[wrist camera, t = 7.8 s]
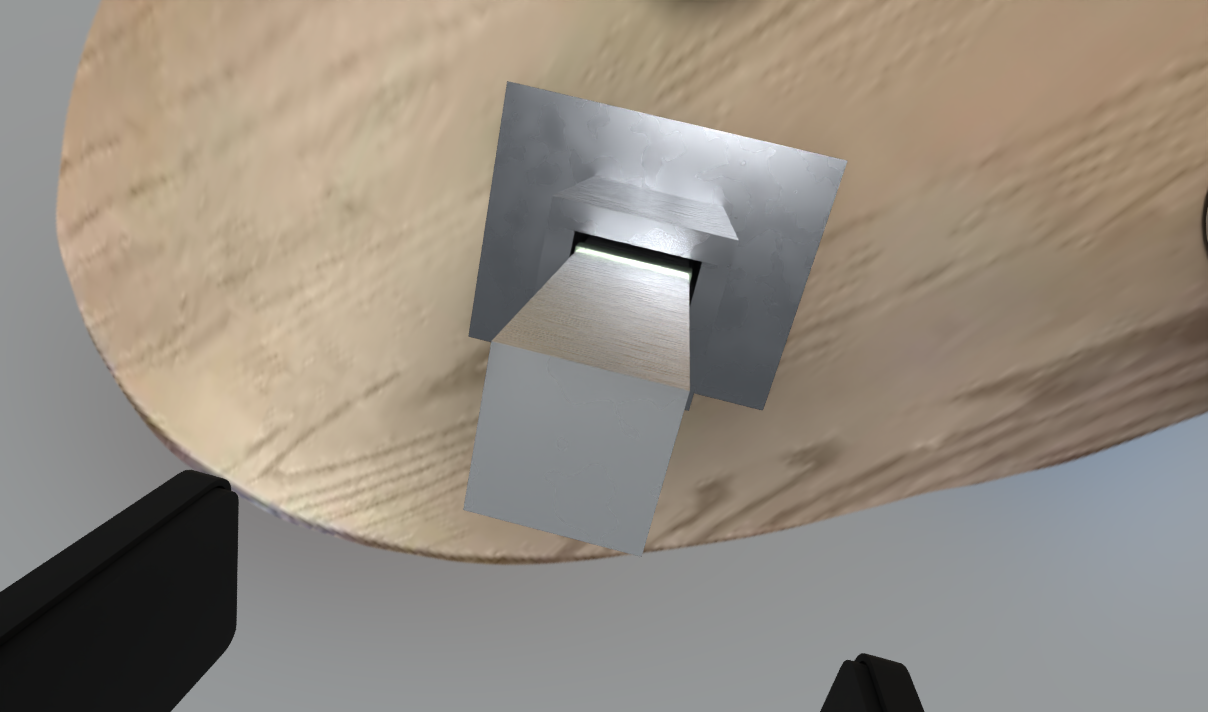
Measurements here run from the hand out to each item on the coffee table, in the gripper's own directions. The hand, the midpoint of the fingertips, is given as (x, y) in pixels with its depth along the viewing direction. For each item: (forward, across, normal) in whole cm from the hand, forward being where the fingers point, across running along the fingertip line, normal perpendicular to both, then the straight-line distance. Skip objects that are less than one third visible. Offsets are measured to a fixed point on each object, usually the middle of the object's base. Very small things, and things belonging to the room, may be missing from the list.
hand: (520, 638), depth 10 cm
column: (+25, 0, 0) cm, 25 cm away
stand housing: (+33, +1, 0) cm, 33 cm away
